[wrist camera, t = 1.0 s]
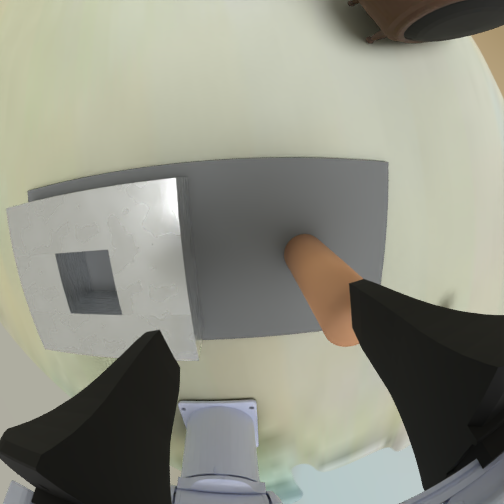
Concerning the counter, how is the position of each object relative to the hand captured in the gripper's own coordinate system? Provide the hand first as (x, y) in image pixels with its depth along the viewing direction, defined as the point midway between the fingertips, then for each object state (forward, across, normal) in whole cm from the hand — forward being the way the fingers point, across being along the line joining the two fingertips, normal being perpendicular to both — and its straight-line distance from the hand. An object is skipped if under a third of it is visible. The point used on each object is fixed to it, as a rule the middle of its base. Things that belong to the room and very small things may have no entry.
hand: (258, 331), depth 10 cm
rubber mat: (+11, +4, 0) cm, 12 cm away
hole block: (+10, +11, -1) cm, 15 cm away
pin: (+10, -4, +2) cm, 11 cm away
